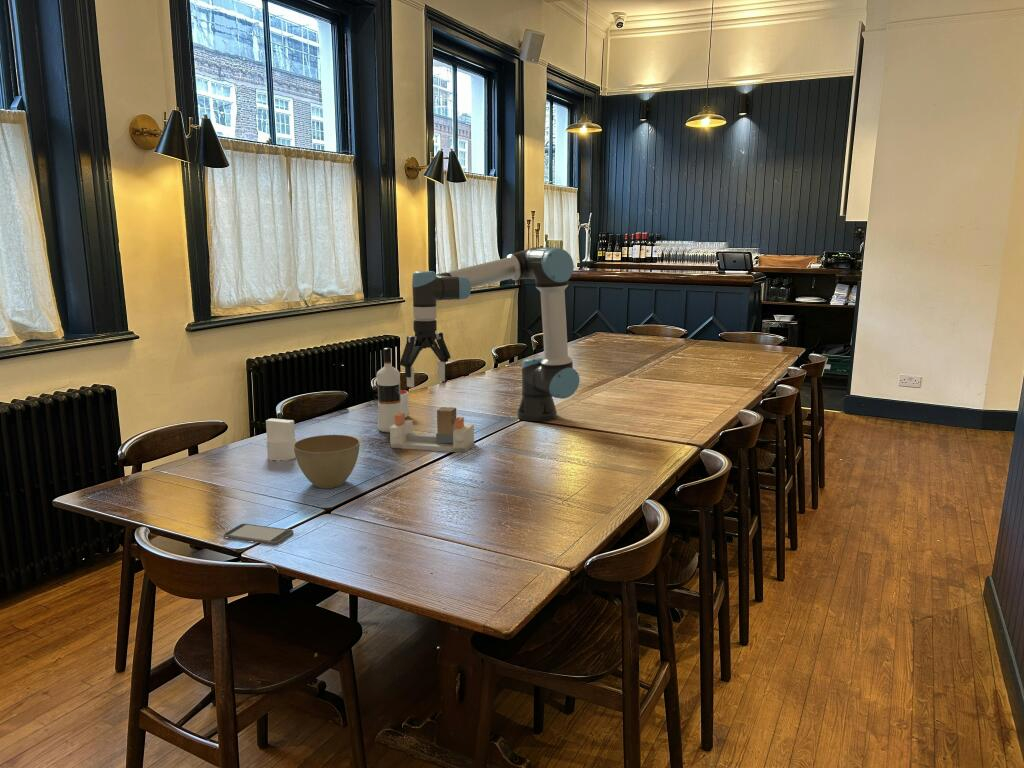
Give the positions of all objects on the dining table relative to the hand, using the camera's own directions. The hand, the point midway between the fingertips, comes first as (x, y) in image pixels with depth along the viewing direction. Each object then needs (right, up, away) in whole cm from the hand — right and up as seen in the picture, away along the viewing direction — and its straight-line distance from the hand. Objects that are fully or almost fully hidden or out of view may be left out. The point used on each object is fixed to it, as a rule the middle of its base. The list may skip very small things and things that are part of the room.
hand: (426, 383), depth 241 cm
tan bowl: (-24, -29, -32) cm, 49 cm away
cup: (-17, -13, +42) cm, 47 cm away
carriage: (+7, -19, +3) cm, 20 cm away
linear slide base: (+2, -21, +4) cm, 21 cm away
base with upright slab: (-45, -24, -6) cm, 52 cm away
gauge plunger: (-10, -13, +6) cm, 17 cm away
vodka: (-16, -17, +25) cm, 34 cm away
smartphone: (-32, -37, -67) cm, 83 cm away
